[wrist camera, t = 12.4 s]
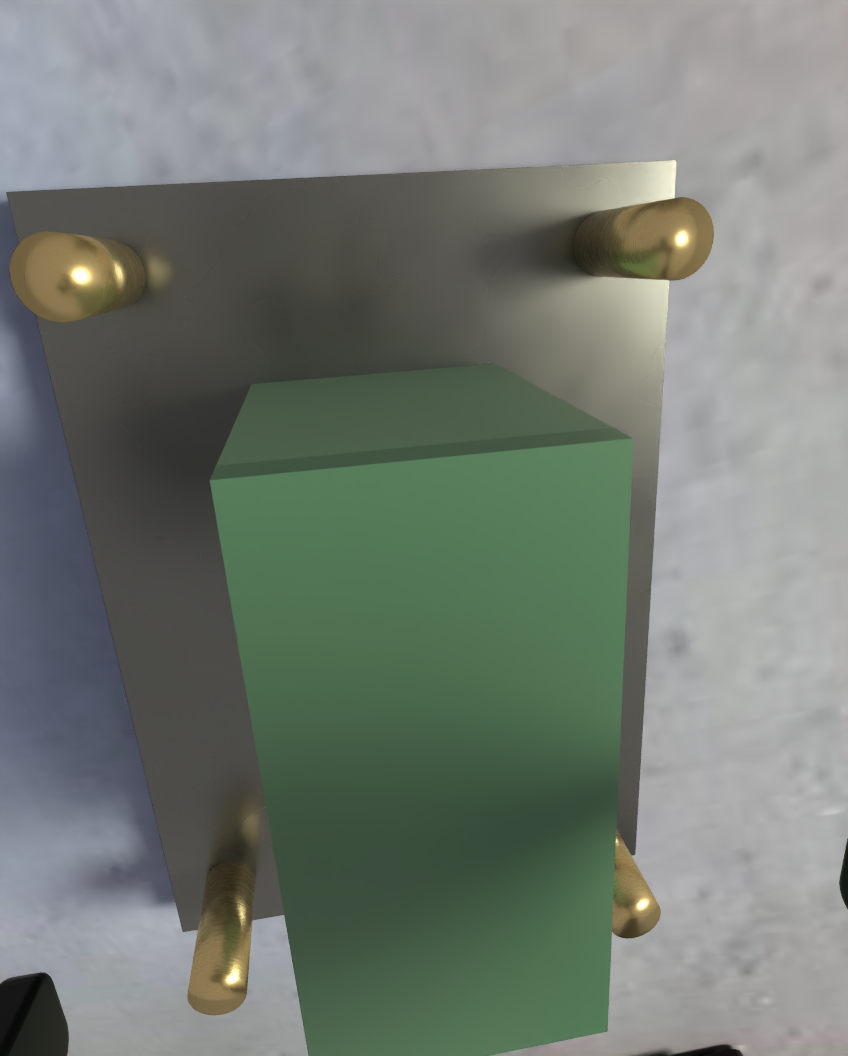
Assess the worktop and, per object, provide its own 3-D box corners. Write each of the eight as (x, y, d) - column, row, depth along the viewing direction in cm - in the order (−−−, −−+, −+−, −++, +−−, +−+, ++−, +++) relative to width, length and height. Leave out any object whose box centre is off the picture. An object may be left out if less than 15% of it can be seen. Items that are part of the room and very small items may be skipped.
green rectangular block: (494, 363, 14) (632, 439, 8) (504, 770, 18) (607, 1031, 12) (251, 383, 14) (209, 479, 8) (311, 800, 17) (314, 1091, 11)
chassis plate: (620, 828, 21) (689, 952, 17) (189, 899, 19) (160, 1053, 15) (652, 166, 15) (771, 134, 11) (27, 197, 13) (-83, 172, 9)
